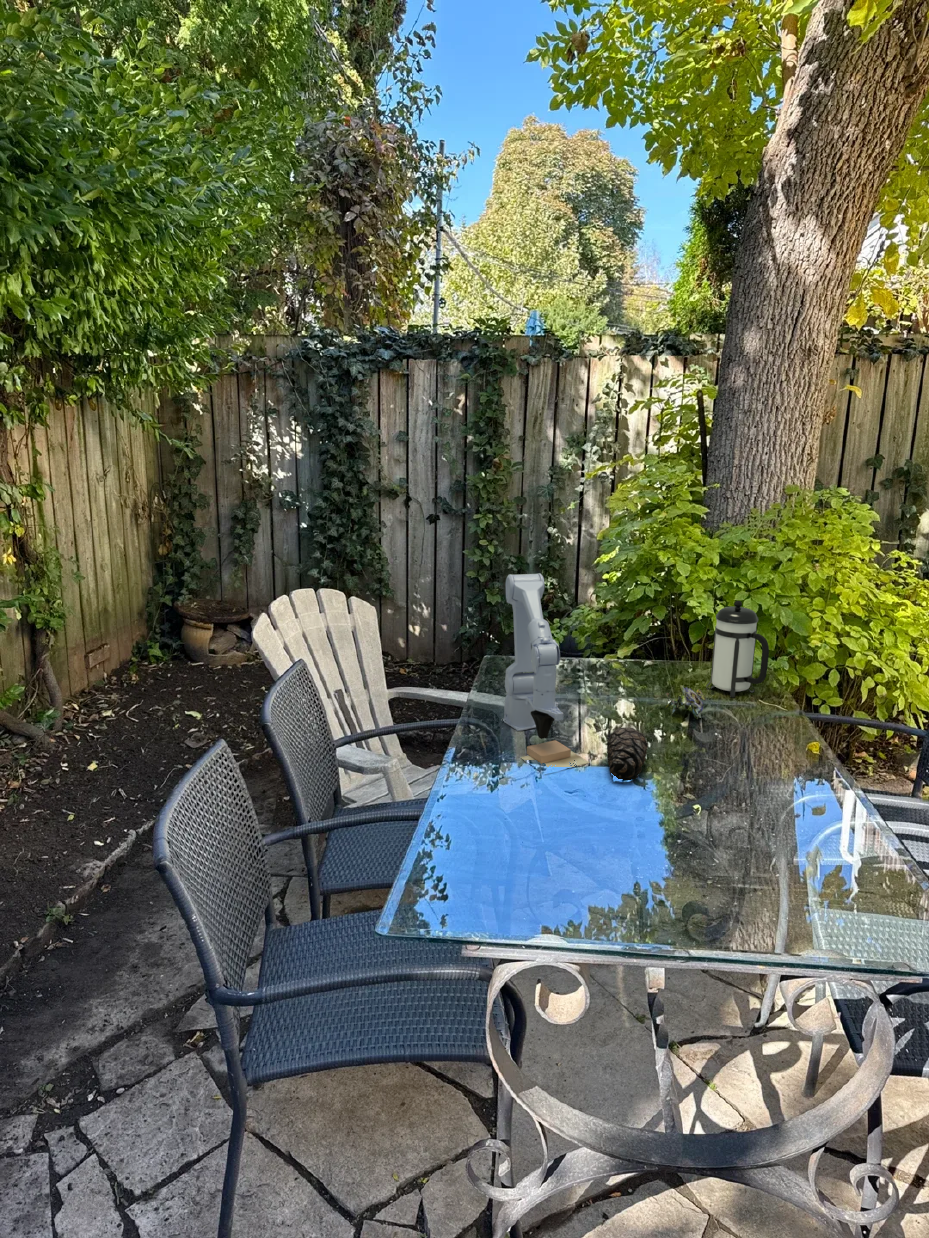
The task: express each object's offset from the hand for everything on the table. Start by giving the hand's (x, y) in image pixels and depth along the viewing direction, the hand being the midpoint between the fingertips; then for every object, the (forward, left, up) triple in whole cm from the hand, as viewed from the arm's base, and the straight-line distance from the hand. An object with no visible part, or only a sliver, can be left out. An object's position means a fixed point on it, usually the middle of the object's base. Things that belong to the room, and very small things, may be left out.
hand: (542, 737), depth 209 cm
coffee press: (-11, +82, -5) cm, 83 cm away
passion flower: (-2, +52, -5) cm, 52 cm away
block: (-1, 0, -3) cm, 3 cm away
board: (+6, 0, -4) cm, 7 cm away
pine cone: (+19, +13, -5) cm, 23 cm away
